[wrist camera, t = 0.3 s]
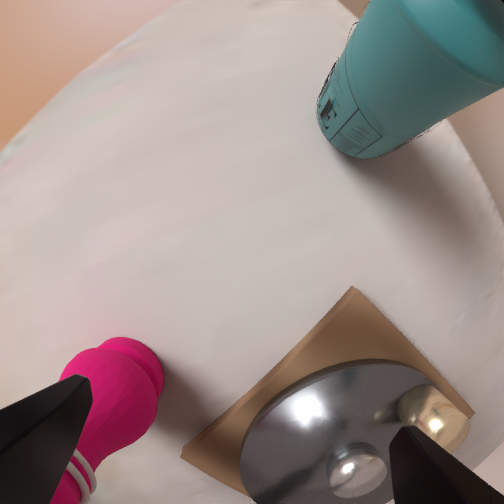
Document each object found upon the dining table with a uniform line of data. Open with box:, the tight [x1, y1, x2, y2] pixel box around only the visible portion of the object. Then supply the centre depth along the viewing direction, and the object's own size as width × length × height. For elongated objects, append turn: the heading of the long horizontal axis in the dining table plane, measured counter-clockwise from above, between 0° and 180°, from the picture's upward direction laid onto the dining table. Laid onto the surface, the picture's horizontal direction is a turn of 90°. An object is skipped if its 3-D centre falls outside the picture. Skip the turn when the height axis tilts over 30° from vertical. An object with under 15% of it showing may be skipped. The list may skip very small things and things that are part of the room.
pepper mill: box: [50, 337, 164, 504], centre depth 13 cm, size 7×7×20 cm
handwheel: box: [240, 358, 470, 504], centre depth 18 cm, size 18×18×7 cm
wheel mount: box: [181, 286, 475, 497], centre depth 23 cm, size 20×20×2 cm
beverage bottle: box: [316, 0, 504, 159], centre depth 11 cm, size 6×7×20 cm
